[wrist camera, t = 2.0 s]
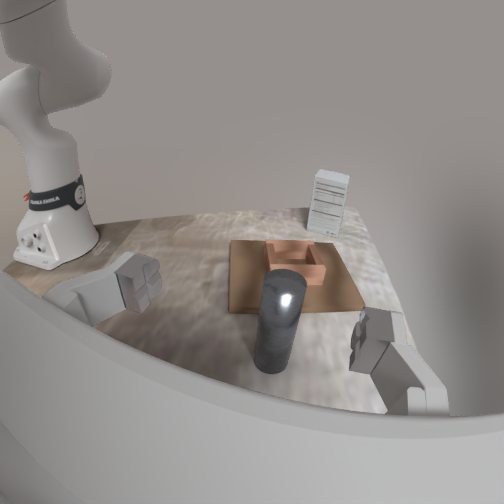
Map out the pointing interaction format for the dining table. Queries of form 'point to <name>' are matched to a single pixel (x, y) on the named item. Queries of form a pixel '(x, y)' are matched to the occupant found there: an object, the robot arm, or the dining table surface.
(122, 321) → the dining table surface
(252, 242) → the keeper board
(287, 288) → the peg
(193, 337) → the dining table surface
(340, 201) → the supplement box
